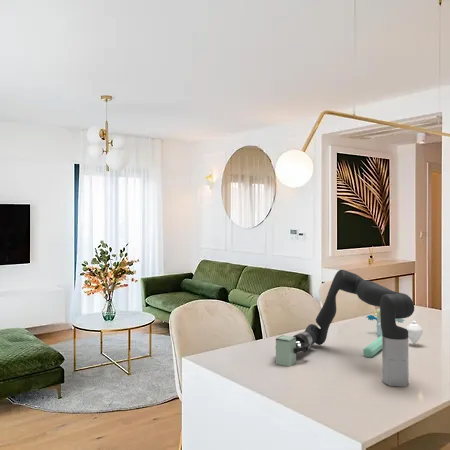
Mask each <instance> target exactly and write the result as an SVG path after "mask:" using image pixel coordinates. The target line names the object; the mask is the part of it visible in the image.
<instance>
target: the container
mask: <svg viewBox="0 0 450 450" xmlns="http://www.w3.org/2000/svg"><path fill="white" fill-rule="evenodd" d="M380 351H382V334H381V335H380V336H379V335H378V337H377V338H376V339H375V340H374V341H372V342H370V343H369V344H368V345H367V346H366V347H364V348H363V353H362V354H363V355H364V357H366V358H369V359H370V358H372V357H374V356H375V355H376V354H377V353H378V352H380Z"/></svg>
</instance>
